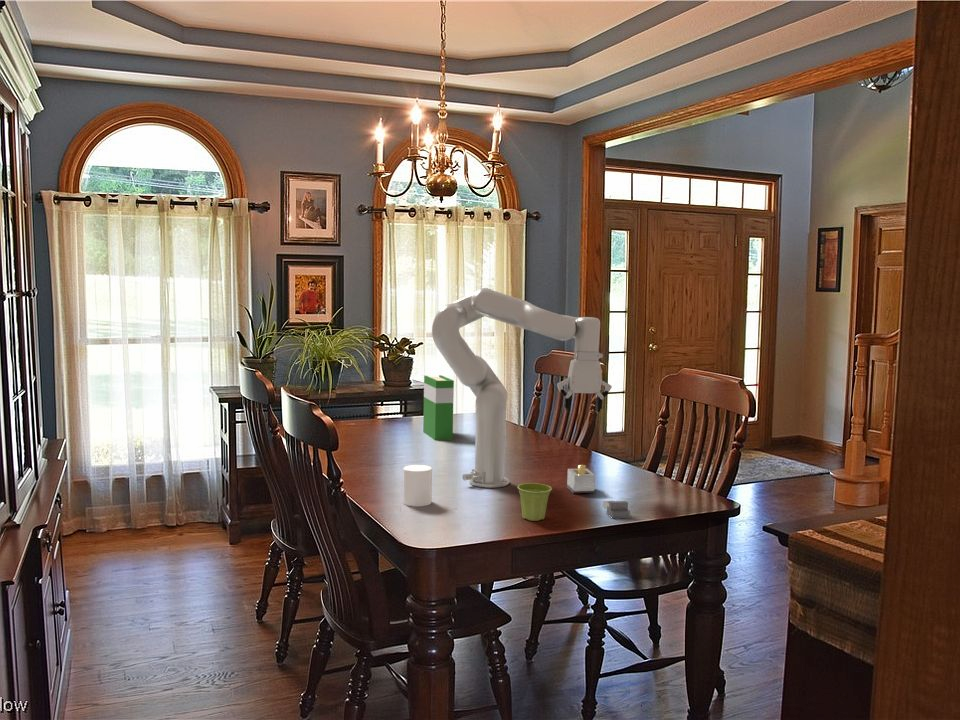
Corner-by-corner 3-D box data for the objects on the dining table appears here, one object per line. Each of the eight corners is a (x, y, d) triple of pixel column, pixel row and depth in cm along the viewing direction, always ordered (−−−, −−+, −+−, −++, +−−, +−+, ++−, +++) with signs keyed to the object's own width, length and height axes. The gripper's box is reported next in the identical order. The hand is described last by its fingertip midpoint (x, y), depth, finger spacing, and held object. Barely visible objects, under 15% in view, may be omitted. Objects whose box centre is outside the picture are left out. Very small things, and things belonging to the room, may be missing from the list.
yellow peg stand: (594, 493, 252) (595, 468, 251) (572, 493, 251) (573, 468, 250) (588, 487, 259) (589, 462, 258) (566, 488, 258) (567, 463, 257)
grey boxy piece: (629, 518, 226) (630, 504, 226) (612, 518, 226) (612, 504, 225) (623, 513, 231) (624, 499, 231) (606, 513, 231) (607, 499, 230)
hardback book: (423, 432, 344) (424, 375, 341) (440, 431, 346) (441, 375, 344) (434, 440, 327) (436, 380, 325) (452, 439, 330) (453, 380, 327)
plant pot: (548, 513, 229) (549, 483, 228) (552, 523, 220) (553, 491, 219) (515, 512, 229) (516, 482, 228) (518, 522, 220) (518, 491, 219)
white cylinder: (405, 471, 231) (399, 462, 242) (405, 507, 232) (399, 496, 243) (434, 470, 233) (427, 461, 244) (433, 506, 234) (426, 495, 245)
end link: (594, 490, 251) (595, 474, 250) (574, 491, 250) (574, 475, 249) (586, 484, 259) (587, 468, 259) (567, 484, 258) (567, 468, 258)
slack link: (620, 511, 233) (621, 506, 233) (608, 511, 232) (608, 506, 232) (614, 505, 239) (614, 500, 239) (602, 505, 238) (602, 500, 238)
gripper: (609, 356, 260) (606, 409, 261) (556, 354, 257) (553, 408, 259) (616, 359, 252) (612, 413, 254) (561, 357, 250) (558, 412, 252)
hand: (582, 410), depth 257 cm, fingers open, 9 cm apart
